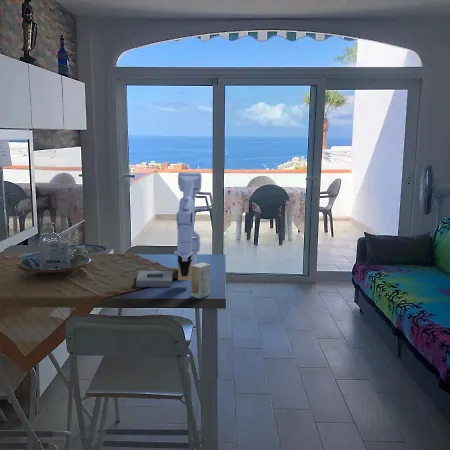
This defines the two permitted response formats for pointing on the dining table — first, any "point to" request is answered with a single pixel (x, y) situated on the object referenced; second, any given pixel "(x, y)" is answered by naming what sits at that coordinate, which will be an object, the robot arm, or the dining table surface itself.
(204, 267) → the skincare box
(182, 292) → the dining table surface
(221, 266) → the dining table surface
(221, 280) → the dining table surface
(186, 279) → the plug
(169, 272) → the socket
